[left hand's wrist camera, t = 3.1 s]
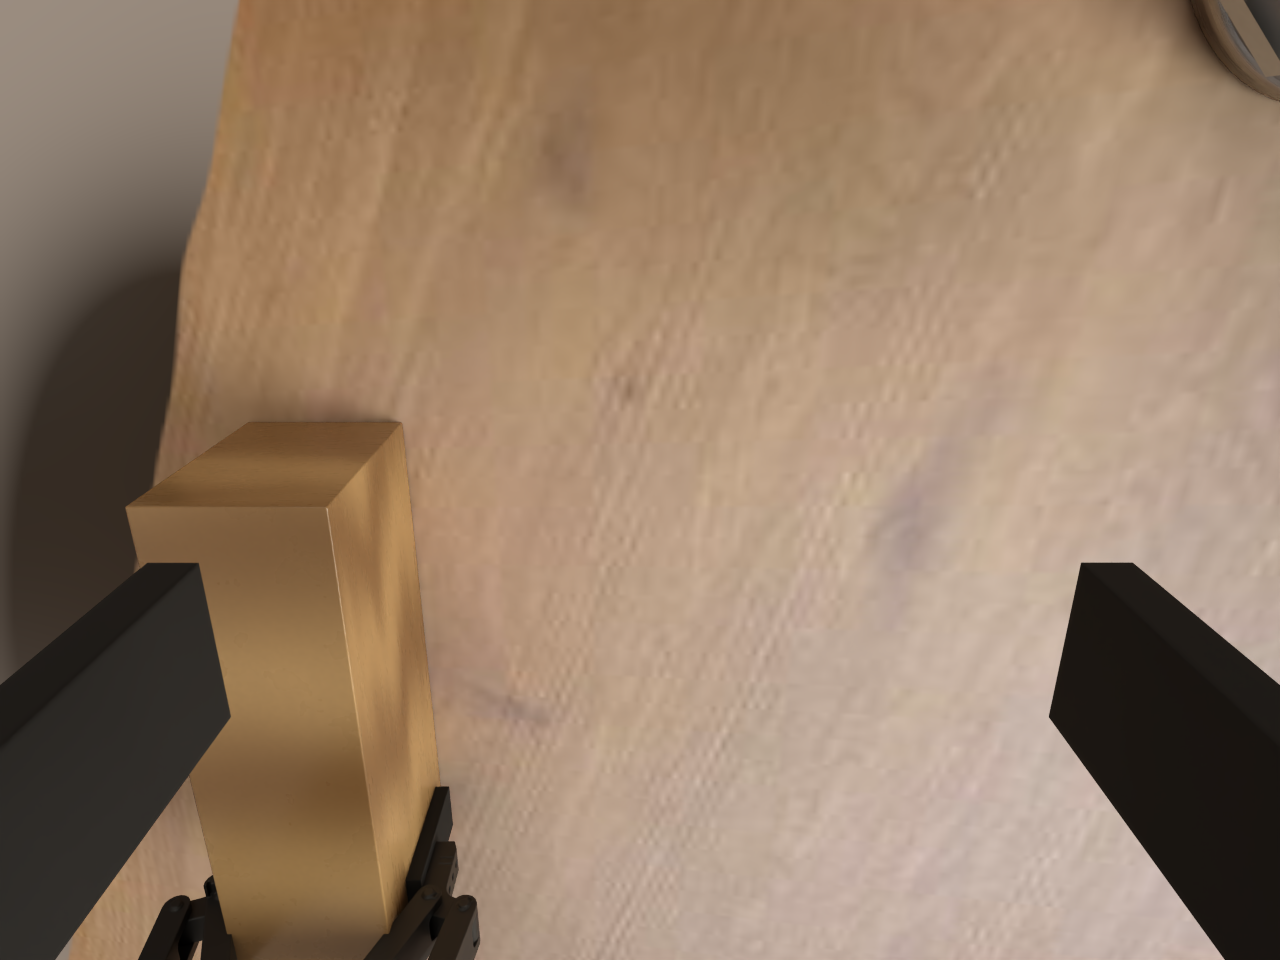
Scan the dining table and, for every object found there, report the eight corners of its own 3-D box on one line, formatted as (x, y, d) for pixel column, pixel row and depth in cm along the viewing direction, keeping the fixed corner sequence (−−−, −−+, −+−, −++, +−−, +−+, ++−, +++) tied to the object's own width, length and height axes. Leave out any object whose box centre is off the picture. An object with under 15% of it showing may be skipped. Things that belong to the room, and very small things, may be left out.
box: (248, 421, 40) (124, 506, 31) (402, 421, 40) (326, 506, 31) (320, 838, 50) (243, 1004, 40) (446, 838, 50) (399, 1004, 40)
